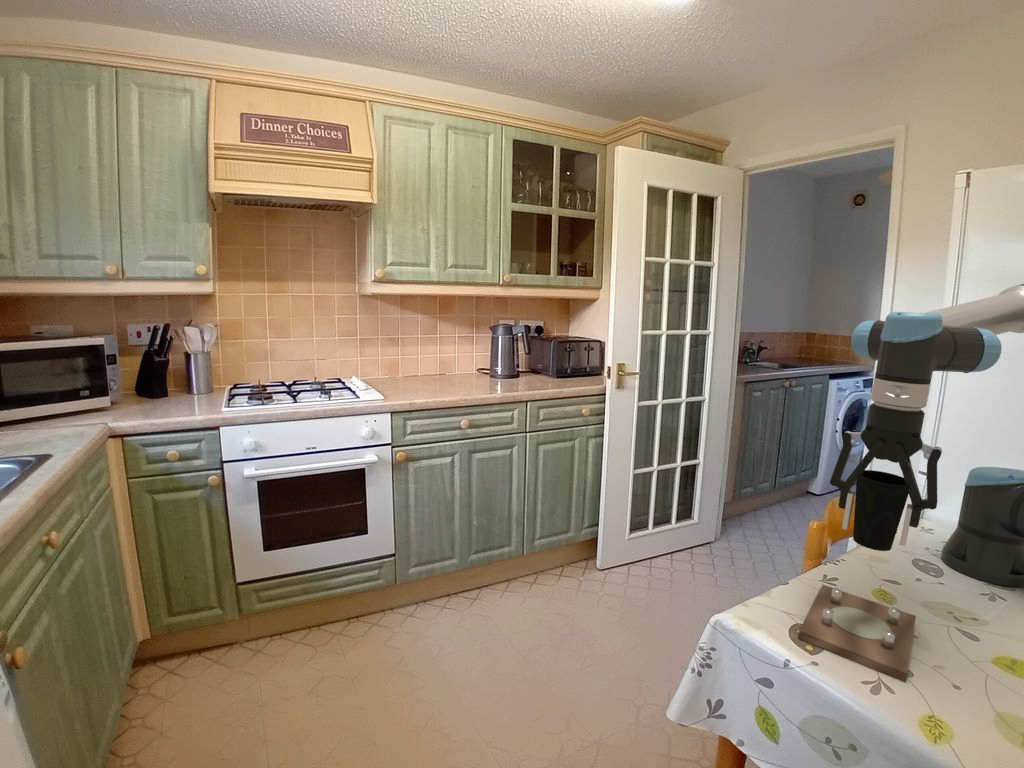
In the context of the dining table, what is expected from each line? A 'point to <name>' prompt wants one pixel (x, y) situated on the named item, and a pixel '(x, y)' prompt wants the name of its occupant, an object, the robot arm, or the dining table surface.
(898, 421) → the robot arm
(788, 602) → the dining table surface
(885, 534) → the cup
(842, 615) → the stub board
